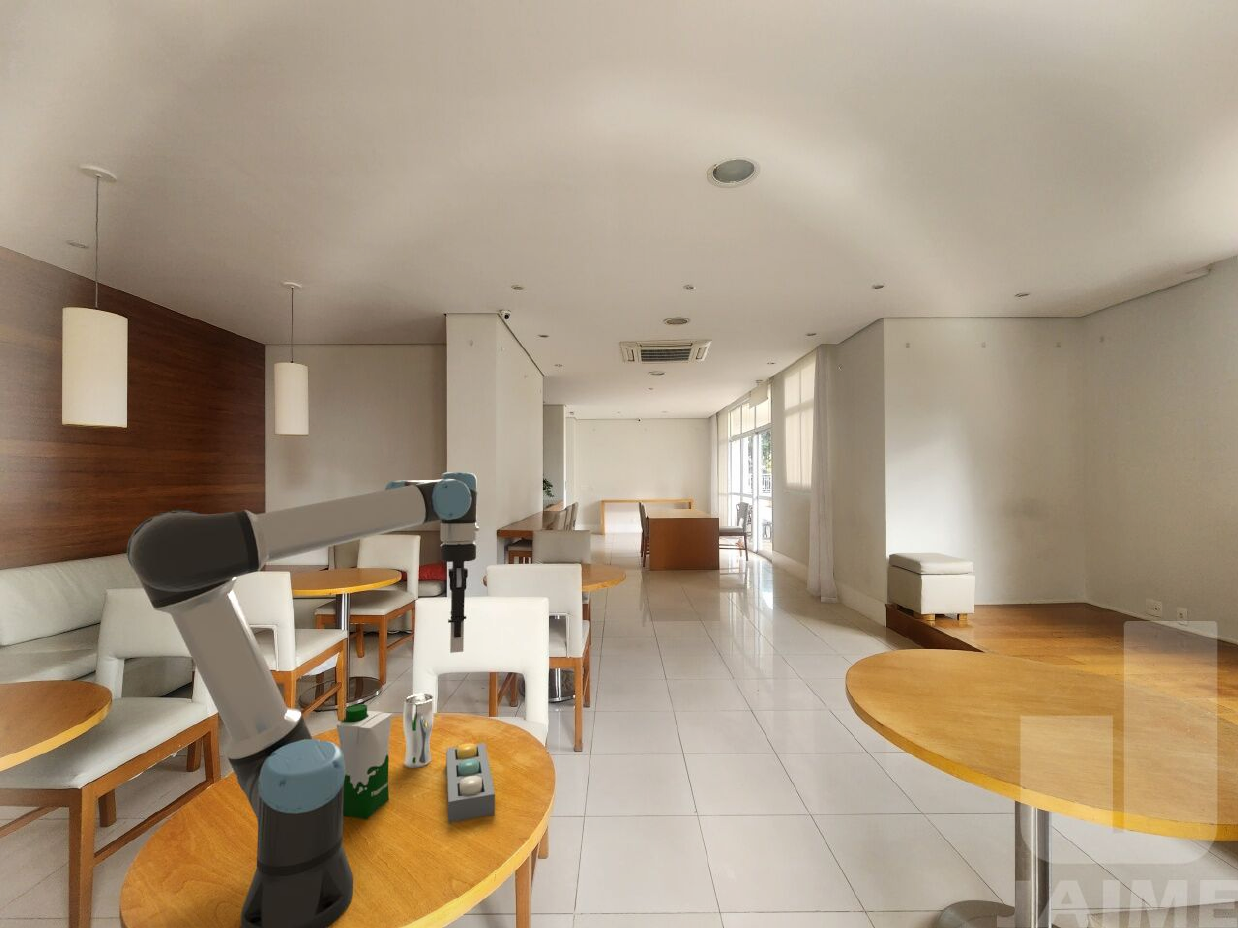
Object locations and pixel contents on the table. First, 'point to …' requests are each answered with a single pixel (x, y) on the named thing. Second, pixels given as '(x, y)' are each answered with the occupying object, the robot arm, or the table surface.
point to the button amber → (466, 751)
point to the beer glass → (418, 729)
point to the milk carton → (364, 760)
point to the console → (470, 803)
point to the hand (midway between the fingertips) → (456, 651)
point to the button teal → (468, 767)
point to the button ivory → (470, 785)
